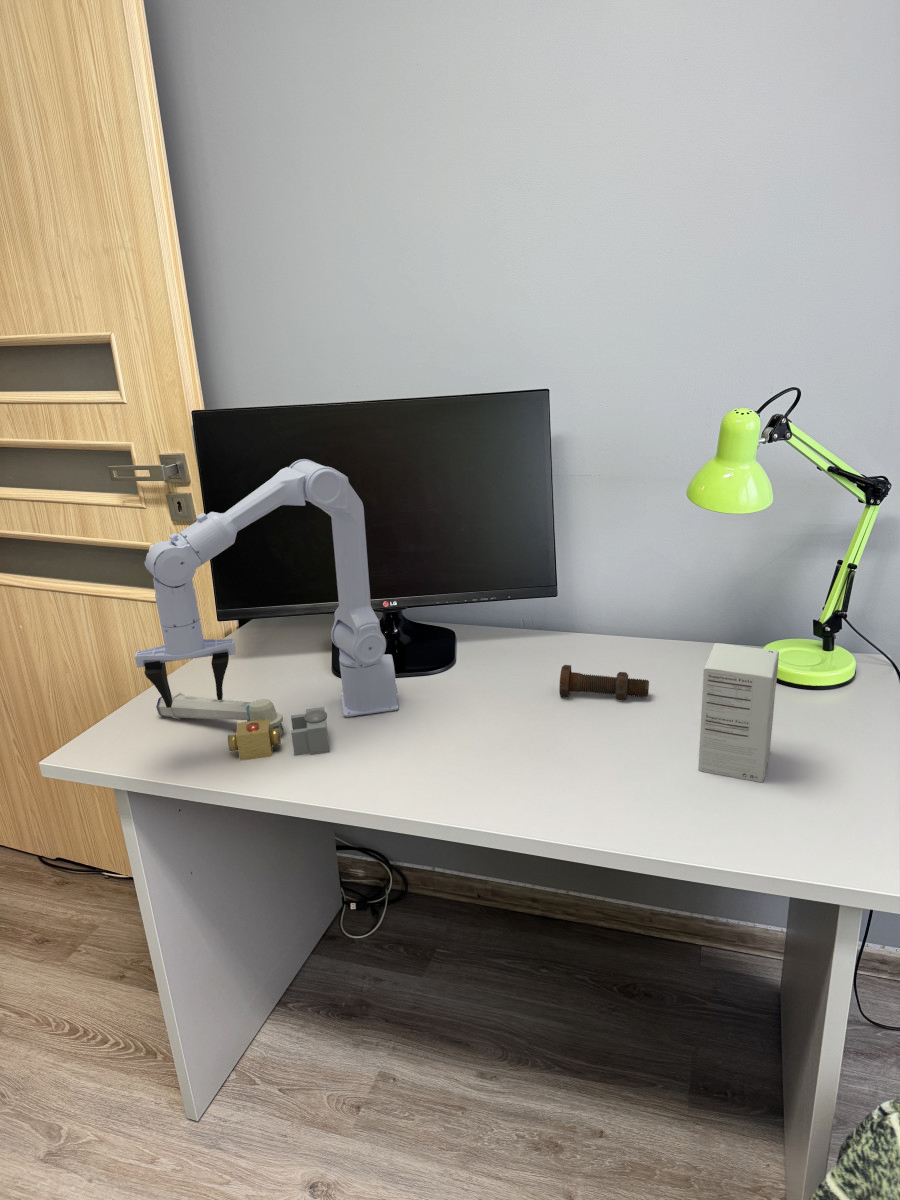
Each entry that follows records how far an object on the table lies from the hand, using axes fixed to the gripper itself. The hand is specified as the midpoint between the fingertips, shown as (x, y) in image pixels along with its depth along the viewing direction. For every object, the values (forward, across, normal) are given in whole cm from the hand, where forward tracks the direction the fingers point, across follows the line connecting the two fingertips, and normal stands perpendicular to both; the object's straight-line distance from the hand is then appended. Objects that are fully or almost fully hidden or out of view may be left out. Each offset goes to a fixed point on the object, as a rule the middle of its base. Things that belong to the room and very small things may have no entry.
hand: (195, 701), depth 130 cm
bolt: (+10, -68, +1) cm, 68 cm away
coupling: (+10, -17, +1) cm, 20 cm away
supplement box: (+10, -78, +26) cm, 83 cm away
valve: (+10, -8, +1) cm, 13 cm away
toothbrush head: (+10, -2, -10) cm, 15 cm away
